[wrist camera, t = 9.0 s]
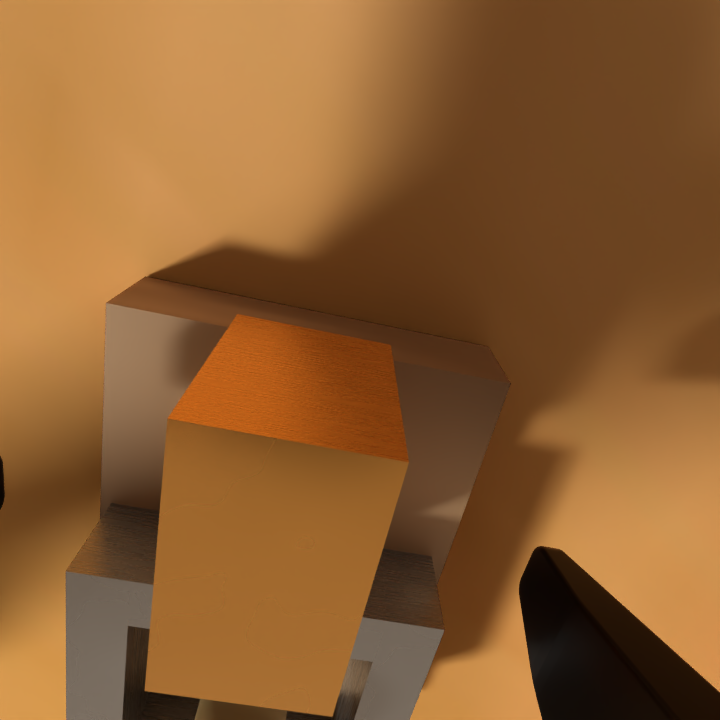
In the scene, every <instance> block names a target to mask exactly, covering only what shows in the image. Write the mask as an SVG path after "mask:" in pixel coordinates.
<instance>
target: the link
mask: <svg viewBox="0 0 720 720" xmlns="http://www.w3.org/2000/svg"><path fill="white" fill-rule="evenodd" d="M408 464H409V459H408V453H407V446H406V440H405V433H404V427H403V420H402V414H401V408H400V401H399V395H398V388H397V382H396V375H395V369H394V362H393V356H392V350H391V345H389V344H384V343H379V342H374V341H369V340H364V339H359V338H354V337H350V336H345V335H340V334H335V333H330V332H325V331H320V330H315V329H310V328H305V327H300V326H295V325H290V324H285V323H280V322H275V321H270V320H265V319H260V318H255V317H250V316H245V315H241V314H237V315H236V317H235V318H234V320H233V321H232V323H231V324H230V326H229V327H228V329H227V330H226V332H225V333H224V335H223V336H222V338H221V339H220V341H219V342H218V344H217V345H216V347H215V348H214V350H213V351H212V352H211V354H210V355H209V357H208V358H207V360H206V361H205V363H204V364H203V366H202V367H201V369H200V370H199V372H198V373H197V375H196V376H195V378H194V379H193V381H192V382H191V384H190V385H189V387H188V388H187V390H186V391H185V393H184V394H183V396H182V397H181V399H180V400H179V402H178V403H177V405H176V406H175V408H174V409H173V411H172V412H171V414H170V415H169V417H168V418H167V429H166V441H165V453H164V465H163V477H162V489H161V501H160V511H157V510H151V509H145V508H139V507H133V506H127V505H121V504H115V503H111V504H110V506H109V507H108V509H107V510H106V512H105V513H104V515H103V516H102V518H101V519H100V521H99V522H98V524H97V525H96V527H95V528H94V530H93V531H92V533H91V534H90V536H89V537H88V539H87V540H86V542H85V543H84V545H83V546H82V548H81V549H80V551H79V552H78V554H77V555H76V557H75V558H74V560H73V561H72V563H71V564H70V566H69V567H68V569H67V570H66V720H195V716H196V713H197V709H198V706H199V702H200V699H207V700H214V701H221V702H229V703H236V704H243V705H250V706H258V707H265V708H272V709H279V710H287V716H286V720H410V717H411V715H412V712H413V710H414V707H415V704H416V702H417V699H418V697H419V694H420V692H421V689H422V687H423V684H424V681H425V679H426V676H427V674H428V671H429V669H430V666H431V664H432V661H433V658H434V656H435V653H436V651H437V648H438V646H439V643H440V641H441V638H442V635H443V633H444V630H445V629H444V624H443V618H442V612H441V606H440V601H439V595H438V589H437V583H436V578H435V572H434V566H433V561H432V556H426V555H420V554H415V553H409V552H403V551H397V550H391V549H385V548H383V547H384V544H385V540H386V537H387V534H388V531H389V527H390V524H391V521H392V517H393V514H394V511H395V507H396V504H397V501H398V497H399V494H400V491H401V487H402V484H403V481H404V477H405V474H406V471H407V468H408ZM151 692H156V693H151ZM158 693H163V694H158ZM165 694H170V695H165ZM173 695H178V696H173ZM180 696H185V697H180ZM187 697H192V698H187ZM194 698H199V699H194ZM289 711H294V712H289ZM296 712H301V713H296ZM304 713H309V714H304ZM311 714H316V715H311ZM318 715H323V716H318ZM326 716H330V717H326Z"/></svg>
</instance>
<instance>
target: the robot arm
mask: <svg viewBox="0 0 720 720" xmlns="http://www.w3.org/2000/svg"><path fill="white" fill-rule="evenodd" d="M4 497H5V490H4V473H3V461H2V458H1V456H0V509H1V507H2V505H3V502H4ZM519 596H520V603H521V609H522V616H523V622H524V629H525V635H526V642H527V648H528V655H529V661H530V668H531V673H532V679H533V684H534V688H535V692H536V697H537V701H538V705H539V709H540V712H541V716H542V720H720V692H719V691H718V690H717V689H715V688H714V687H713V686H712V685H711V684H710V683H709V682H708V681H707V680H705V679H704V678H703V677H702V676H701V675H700V674H699V673H698V672H697V671H695V670H694V669H693V668H692V667H691V666H690V665H689V664H688V663H687V662H685V661H684V660H683V659H682V658H681V657H680V656H679V655H678V654H677V653H675V652H674V651H673V650H672V649H671V648H670V647H669V646H668V645H667V644H665V643H664V642H663V641H662V640H661V639H660V638H659V637H658V636H657V635H655V634H654V633H653V632H652V631H651V630H650V629H649V628H648V627H647V626H645V625H644V624H643V623H642V622H641V621H640V620H639V619H638V618H637V617H635V616H634V615H633V614H632V613H631V612H630V611H629V610H628V609H627V608H625V607H624V606H623V605H622V604H621V603H620V602H619V601H618V600H617V599H615V598H614V597H613V596H612V595H611V594H610V593H609V592H608V591H607V590H605V589H604V588H603V587H602V586H601V585H600V584H599V583H598V582H597V581H595V580H594V579H593V578H592V577H591V576H590V575H589V574H588V573H587V572H585V571H584V570H583V569H582V568H581V567H580V566H579V565H578V564H577V563H575V562H574V561H573V560H572V559H571V558H570V557H569V556H568V555H567V554H565V553H564V552H563V551H562V550H560V549H556V548H550V547H544V546H539V547H537V548H535V549H534V551H533V553H532V555H531V557H530V560H529V562H528V564H527V566H526V569H525V571H524V573H523V575H522V577H521V580H520V584H519Z"/></svg>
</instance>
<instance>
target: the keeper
mask: <svg viewBox="0 0 720 720" xmlns="http://www.w3.org/2000/svg"><path fill="white" fill-rule="evenodd" d="M237 314H241V315H245V316H250V317H255V318H260V319H265V320H270V321H275V322H280V323H285V324H290V325H295V326H300V327H305V328H310V329H315V330H320V331H325V332H330V333H335V334H340V335H345V336H350V337H354V338H359V339H364V340H369V341H374V342H379V343H384V344H389V345H391V350H392V356H393V362H394V369H395V375H396V382H397V388H398V395H399V401H400V408H401V414H402V420H403V427H404V433H405V440H406V446H407V453H408V459H409V464H408V468H407V471H406V474H405V477H404V481H403V484H402V487H401V491H400V494H399V497H398V501H397V504H396V507H395V511H394V514H393V517H392V521H391V524H390V527H389V531H388V534H387V537H386V540H385V544H384V547H383V548H385V549H391V550H397V551H403V552H409V553H415V554H420V555H426V556H432V561H433V566H434V572H435V578H436V583H437V584H438V581H439V578H440V575H441V573H442V570H443V567H444V564H445V562H446V559H447V556H448V554H449V551H450V548H451V545H452V543H453V540H454V537H455V534H456V532H457V529H458V526H459V524H460V521H461V518H462V515H463V513H464V510H465V507H466V504H467V502H468V499H469V496H470V493H471V491H472V488H473V485H474V483H475V480H476V477H477V474H478V472H479V469H480V466H481V463H482V461H483V458H484V455H485V453H486V450H487V447H488V444H489V442H490V439H491V436H492V433H493V431H494V428H495V425H496V422H497V420H498V417H499V414H500V412H501V409H502V406H503V403H504V401H505V398H506V395H507V392H508V390H509V387H510V384H511V383H510V382H509V380H508V378H507V377H506V375H505V373H504V372H503V370H502V368H501V367H500V365H499V364H498V362H497V360H496V359H495V357H494V355H493V354H492V352H491V350H490V349H489V347H487V346H482V345H477V344H473V343H468V342H463V341H458V340H453V339H448V338H443V337H438V336H434V335H429V334H424V333H419V332H414V331H409V330H404V329H399V328H395V327H390V326H385V325H380V324H375V323H370V322H365V321H360V320H355V319H351V318H346V317H341V316H336V315H331V314H326V313H321V312H316V311H312V310H307V309H302V308H297V307H292V306H287V305H282V304H277V303H273V302H268V301H263V300H258V299H253V298H248V297H243V296H238V295H233V294H229V293H224V292H219V291H214V290H209V289H204V288H199V287H194V286H190V285H185V284H180V283H175V282H170V281H165V280H160V279H155V278H151V277H144V278H143V279H141V280H140V281H138V282H137V283H135V284H134V285H132V286H131V287H129V288H128V289H126V290H125V291H123V292H122V293H120V294H119V295H117V296H116V297H114V298H113V299H111V300H110V301H108V302H107V303H106V328H105V363H104V398H103V434H102V469H101V505H100V519H101V518H102V516H103V515H104V513H105V512H106V510H107V509H108V507H109V506H110V504H111V503H115V504H121V505H127V506H133V507H139V508H145V509H151V510H157V511H160V501H161V489H162V477H163V465H164V453H165V441H166V429H167V418H168V417H169V415H170V414H171V412H172V411H173V409H174V408H175V406H176V405H177V403H178V402H179V400H180V399H181V397H182V396H183V394H184V393H185V391H186V390H187V388H188V387H189V385H190V384H191V382H192V381H193V379H194V378H195V376H196V375H197V373H198V372H199V370H200V369H201V367H202V366H203V364H204V363H205V361H206V360H207V358H208V357H209V355H210V354H211V352H212V351H213V350H214V348H215V347H216V345H217V344H218V342H219V341H220V339H221V338H222V336H223V335H224V333H225V332H226V330H227V329H228V327H229V326H230V324H231V323H232V321H233V320H234V318H235V317H236V315H237ZM151 693H156V692H151ZM158 694H163V693H158ZM165 695H170V694H165ZM173 696H178V695H173ZM180 697H185V696H180ZM187 698H192V697H187ZM194 699H199V698H194ZM289 712H294V711H289ZM296 713H301V712H296ZM304 714H309V713H304ZM311 715H316V714H311ZM286 716H287V710H279V709H272V708H265V707H258V706H250V705H243V704H236V703H229V702H221V701H214V700H207V699H200V702H199V706H198V709H197V713H196V716H195V720H286ZM318 716H323V715H318ZM326 717H330V716H326Z"/></svg>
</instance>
